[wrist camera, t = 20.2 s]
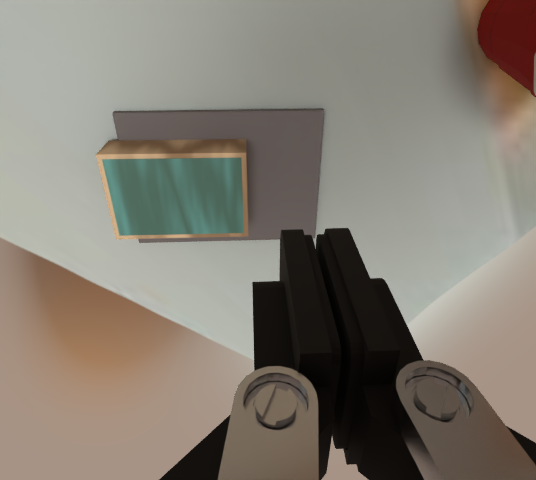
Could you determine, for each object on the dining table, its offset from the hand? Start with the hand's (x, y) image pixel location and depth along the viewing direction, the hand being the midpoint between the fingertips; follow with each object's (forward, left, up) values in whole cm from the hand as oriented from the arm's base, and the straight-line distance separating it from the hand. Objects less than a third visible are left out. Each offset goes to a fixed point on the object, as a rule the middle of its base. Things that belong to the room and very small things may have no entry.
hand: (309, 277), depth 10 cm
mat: (+4, +9, -27) cm, 29 cm away
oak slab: (+2, +9, -25) cm, 26 cm away
